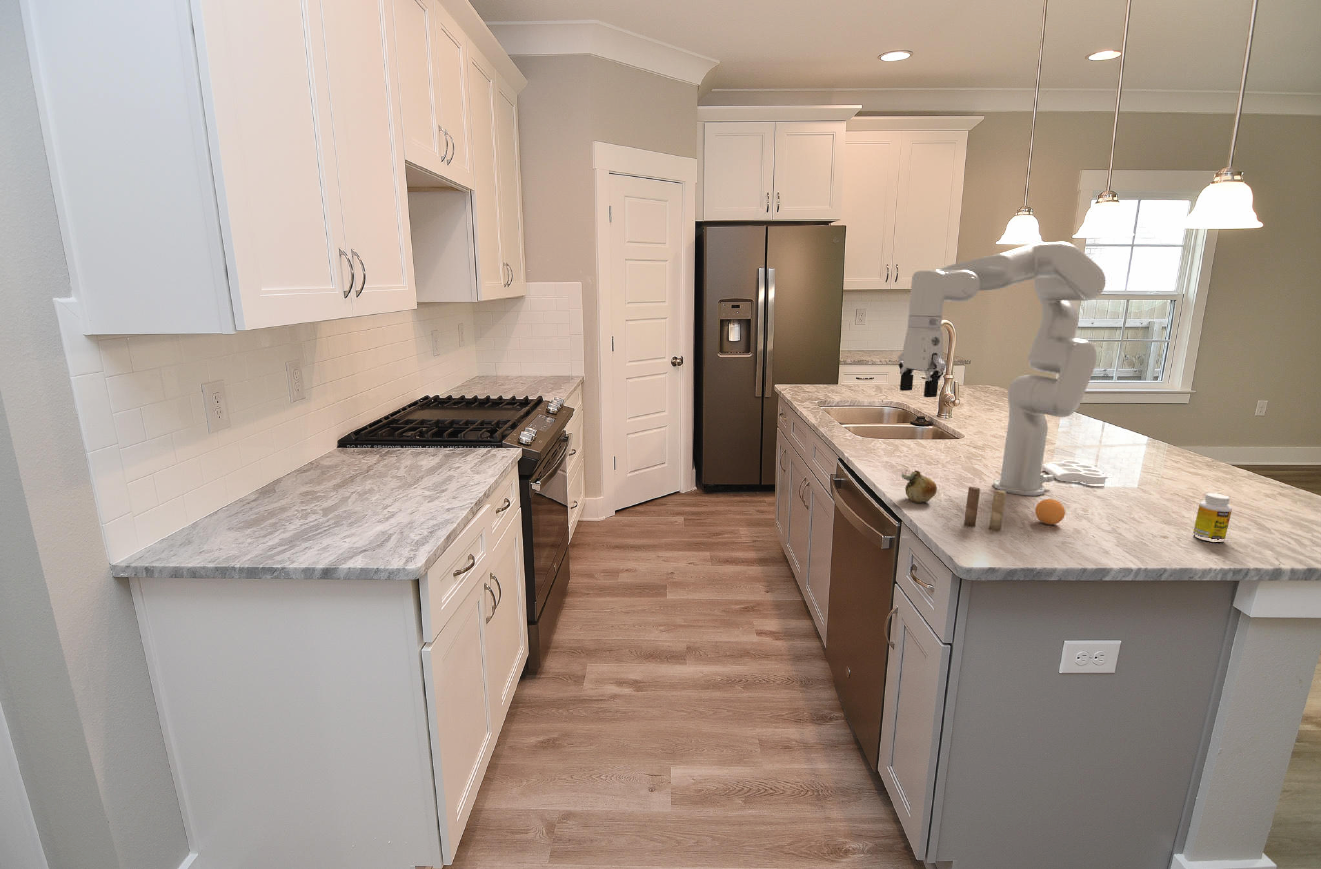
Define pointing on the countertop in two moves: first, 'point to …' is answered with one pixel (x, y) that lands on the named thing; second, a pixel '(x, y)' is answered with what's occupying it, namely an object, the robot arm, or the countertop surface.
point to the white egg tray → (1075, 472)
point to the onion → (919, 487)
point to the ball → (1050, 511)
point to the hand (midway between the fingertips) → (917, 393)
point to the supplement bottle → (1213, 517)
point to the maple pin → (997, 510)
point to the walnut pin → (972, 506)
